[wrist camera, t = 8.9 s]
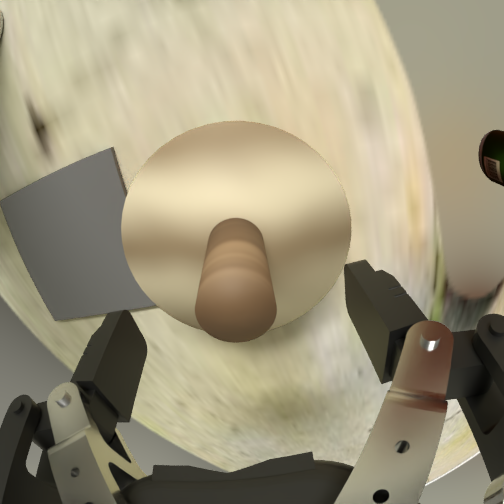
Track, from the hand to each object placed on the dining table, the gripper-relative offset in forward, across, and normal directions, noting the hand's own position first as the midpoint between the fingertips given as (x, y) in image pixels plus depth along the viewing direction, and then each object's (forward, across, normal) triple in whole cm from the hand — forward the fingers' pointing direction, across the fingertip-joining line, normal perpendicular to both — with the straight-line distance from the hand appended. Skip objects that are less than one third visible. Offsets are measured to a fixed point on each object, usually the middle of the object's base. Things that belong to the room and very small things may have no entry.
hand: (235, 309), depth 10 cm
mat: (+13, +15, 0) cm, 20 cm away
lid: (+7, 0, 0) cm, 7 cm away
